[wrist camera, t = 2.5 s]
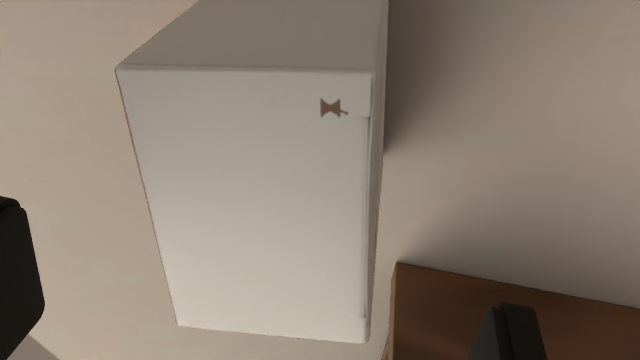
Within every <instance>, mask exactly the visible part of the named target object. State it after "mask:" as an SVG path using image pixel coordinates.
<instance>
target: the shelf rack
mask: <svg viewBox="0 0 640 360" xmlns="http://www.w3.org/2000/svg"><path fill="white" fill-rule="evenodd" d="M502 301H505V302H509V303H514V304H519V305H524V306H529V307H532V308H533V309H534V310H535V312H536V316H537V320H538V324H539V328H540V332H541V336H542V340H543V344H544V348H545V352H546V356H547V360H640V310H639V309H633V308H628V307H623V306H618V305H613V304H608V303H603V302H597V301H592V300H587V299H582V298H577V297H572V296H566V295H561V294H556V293H551V292H546V291H541V290H536V289H530V288H525V287H520V286H515V285H510V284H505V283H499V282H494V281H489V280H484V279H479V278H474V277H469V276H463V275H458V274H453V273H448V272H443V271H438V270H432V269H427V268H422V267H417V266H412V265H407V264H402V263H396V264H395V268H394V272H393V275H392V279H391V299H390V321H389V335H388V338H387V342H386V345H385V348H384V352H383V355H382V359H381V360H466V359H467V357H468V355H469V352H470V350H471V347H472V345H473V343H474V340H475V338H476V335H477V333H478V331H479V328H480V326H481V323H482V321H483V319H484V316H485V314H486V311H487V310H488V308H489V307H496V308H497V307H498V305H499V303H501V302H502Z"/></svg>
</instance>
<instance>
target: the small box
mask: <svg viewBox="0 0 640 360" xmlns="http://www.w3.org/2000/svg"><path fill="white" fill-rule="evenodd" d="M388 9H389V0H199V1H198V2H197V3H195V4H194V5H193V6H192V7H190V8H189V9H188V10H187V11H185V12H184V13H183V14H181V15H180V16H179V17H178V18H176V19H175V20H174V21H173V22H171V23H170V24H169V25H167V26H166V27H165V28H163V29H162V30H161V31H159V32H158V33H157V34H155V35H154V36H153V37H152V38H150V39H149V40H148V41H147V42H146V43H144V44H143V45H142V46H141V47H139V48H138V49H137V50H136V51H134V52H133V53H132V54H130V55H129V56H128V57H127V58H125V59H124V60H123V61H122V62H121V63H119V64H118V65H117V66H116V67H115V74H116V78H117V82H118V86H119V89H120V94H121V98H122V102H123V106H124V110H125V115H126V119H127V123H128V127H129V131H130V135H131V139H132V143H133V147H134V151H135V155H136V159H137V163H138V167H139V171H140V175H141V179H142V183H143V187H144V191H145V195H146V199H147V203H148V207H149V212H150V216H151V220H152V224H153V228H154V232H155V236H156V240H157V244H158V248H159V253H160V257H161V261H162V265H163V269H164V273H165V277H166V281H167V285H168V290H169V294H170V299H171V303H172V307H173V311H174V315H175V320H176V324H177V325H179V326H185V327H193V328H200V329H210V330H219V331H230V332H241V333H251V334H261V335H271V336H282V337H292V338H303V339H313V340H324V341H334V342H345V343H357V344H363V343H366V342H367V341H369V336H370V325H371V311H372V298H373V285H374V272H375V259H376V245H377V231H378V218H379V204H380V192H381V180H382V167H383V142H384V115H385V86H386V61H387V37H388Z"/></svg>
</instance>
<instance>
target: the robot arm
mask: <svg viewBox="0 0 640 360" xmlns="http://www.w3.org/2000/svg"><path fill="white" fill-rule="evenodd" d="M44 307H45V301H44V296H43V291H42V286H41V281H40V277H39V272H38V267H37V262H36V257H35V252H34V247H33V242H32V238H31V233H30V228H29V223H28V218H27V214H26V211H25V210H24V209H23V208H21V207H20V204H19V202H18V201H17V200H15V199H12V198H7V197H2V196H0V360H7V358H8V357H9V356H10V355H11V354H12V352H13V351H14V350H15V349H16V348H17V346H18V345H19V344H20V343H21V341H22V340H23V339H24V338H25V337H26V335H27V334H28V333H29V332H30V331H31V329H32V328H33V327H34V326H35V324H36V323H37V322H38V321H39V319H40V318H41V316H42V314H43V311H44ZM466 360H547V356H546V352H545V348H544V344H543V340H542V336H541V332H540V328H539V324H538V320H537V316H536V312H535V310H534V309H533V308H532V307H529V306H524V305H519V304H514V303H509V302H505V301H502V302H501V303H499V305H498V307H497V308H496V307H489V308H488V310H487V311H486V314H485V316H484V319H483V321H482V323H481V326H480V328H479V331H478V333H477V335H476V338H475V340H474V343H473V345H472V347H471V350H470V352H469V355H468V357H467V359H466Z"/></svg>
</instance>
